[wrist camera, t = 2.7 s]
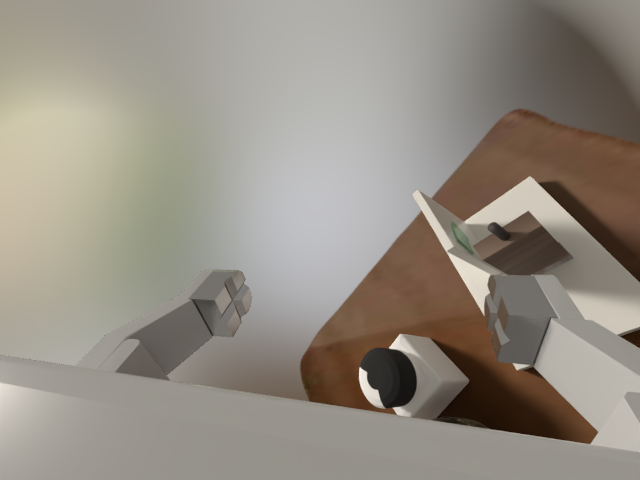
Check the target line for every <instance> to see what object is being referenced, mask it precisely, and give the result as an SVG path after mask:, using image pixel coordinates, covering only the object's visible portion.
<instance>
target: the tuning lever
mask: <svg viewBox="0 0 640 480" xmlns="http://www.w3.org/2000/svg"><path fill="white" fill-rule="evenodd" d="M488 230H489V231H490V232H491V233H492V234H491V235H489V236H487V237H486V238H484V239H483V240H481V241H480V242H478V243H476V244H475V245H473V247H474V248H475V250H476V251H477V253H478V254H479V256H480V257H481V259H482V260H483V261H485V262H486V263H488V264H490V265H492V266H493V267H495V268H497V269H499V270H500V271H502V272H504V273H505V274H507V275H542V274H544V273H546V272H548V271H550V270H552V269H554V268H556V267H558V266H560V265H562V264H563V263H565V262H567V261H569V260H571V259H573V256H572V255H571V254H570V253H569V252H568V251H567V250H566V249H565V248H564V247H563V246H562V245H561V243H560V242H557V241H556V240H555V239H554V238H553V237H552V235H551V234H550V233H549V232H548V231H547V230H546V229H545V228H544V227H543V226H542V225H541V224H540V223H539V221H538V220H537V219H536V218H535V217H534V216H533V215H532V214H531V213H530V212H529V211H527V212H526V213H524V214H522V215H521V216H519V217H518V218H516V219H514V220H513V221H511V222H510V223H508V224H506V225H505V226H503V227H501V226H500V225H499V224H497V223H496V222H492V223H490V224H489V225H488Z"/></svg>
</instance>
